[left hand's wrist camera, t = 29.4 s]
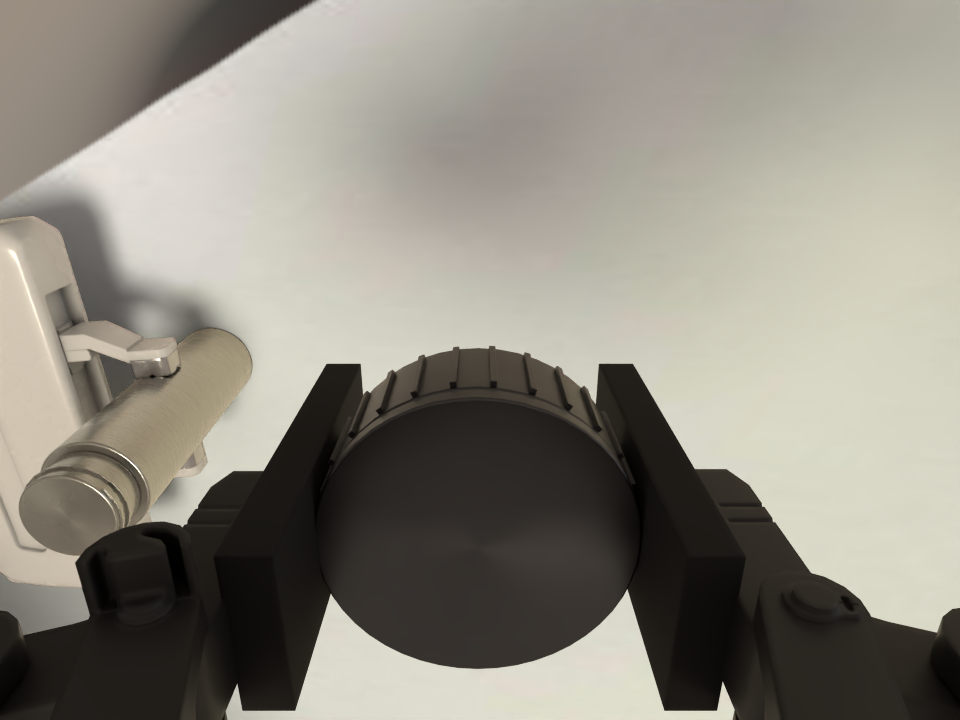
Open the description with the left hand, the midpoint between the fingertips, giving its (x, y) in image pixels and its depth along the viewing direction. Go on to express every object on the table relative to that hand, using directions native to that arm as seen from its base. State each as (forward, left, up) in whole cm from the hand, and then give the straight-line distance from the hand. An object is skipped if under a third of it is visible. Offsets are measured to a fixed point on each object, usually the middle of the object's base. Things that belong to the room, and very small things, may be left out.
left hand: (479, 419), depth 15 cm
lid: (0, 0, +4) cm, 4 cm away
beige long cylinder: (+18, 0, -24) cm, 29 cm away
